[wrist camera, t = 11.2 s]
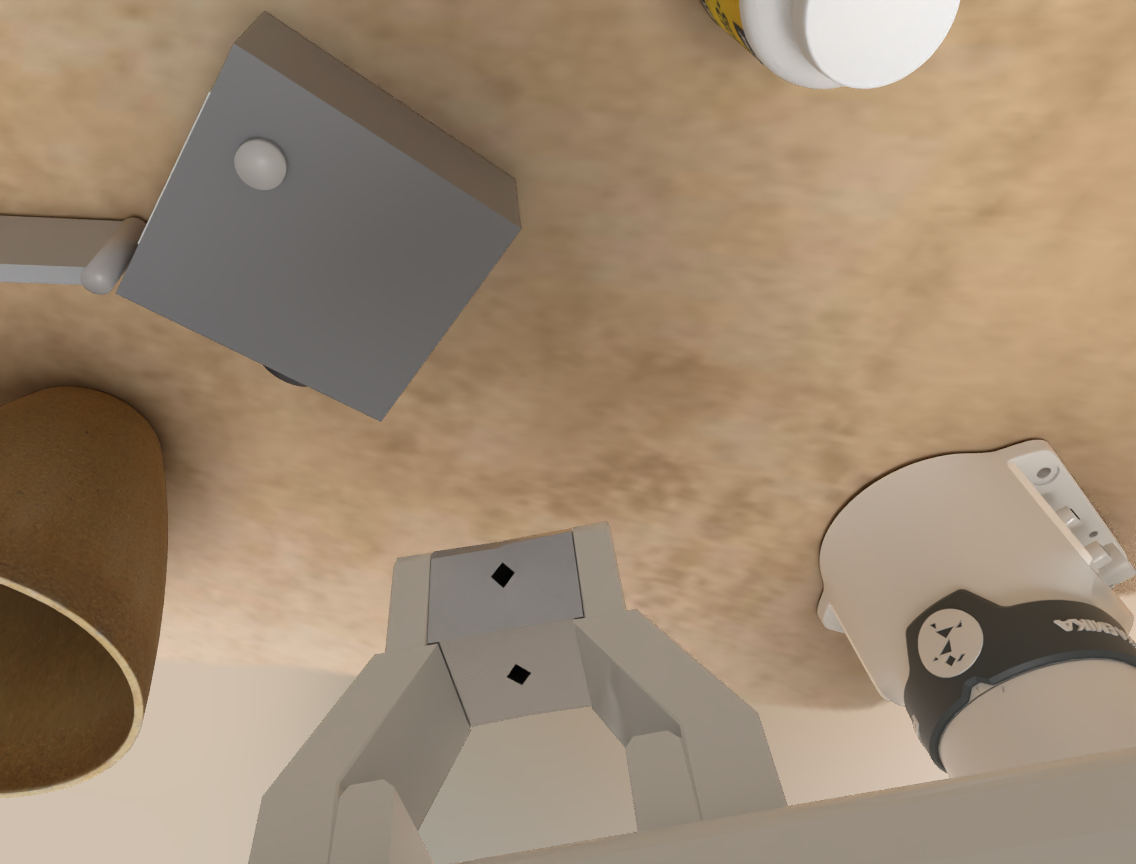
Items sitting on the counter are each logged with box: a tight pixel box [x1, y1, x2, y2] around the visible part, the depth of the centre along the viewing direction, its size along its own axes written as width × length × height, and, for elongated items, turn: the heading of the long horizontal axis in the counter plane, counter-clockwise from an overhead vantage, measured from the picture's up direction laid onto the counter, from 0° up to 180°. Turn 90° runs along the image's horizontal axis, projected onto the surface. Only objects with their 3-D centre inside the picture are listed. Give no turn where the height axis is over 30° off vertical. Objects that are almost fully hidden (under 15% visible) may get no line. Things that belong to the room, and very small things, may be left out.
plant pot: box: [0, 386, 168, 798], centre depth 38 cm, size 15×15×16 cm
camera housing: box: [116, 11, 521, 422], centre depth 36 cm, size 12×12×6 cm
